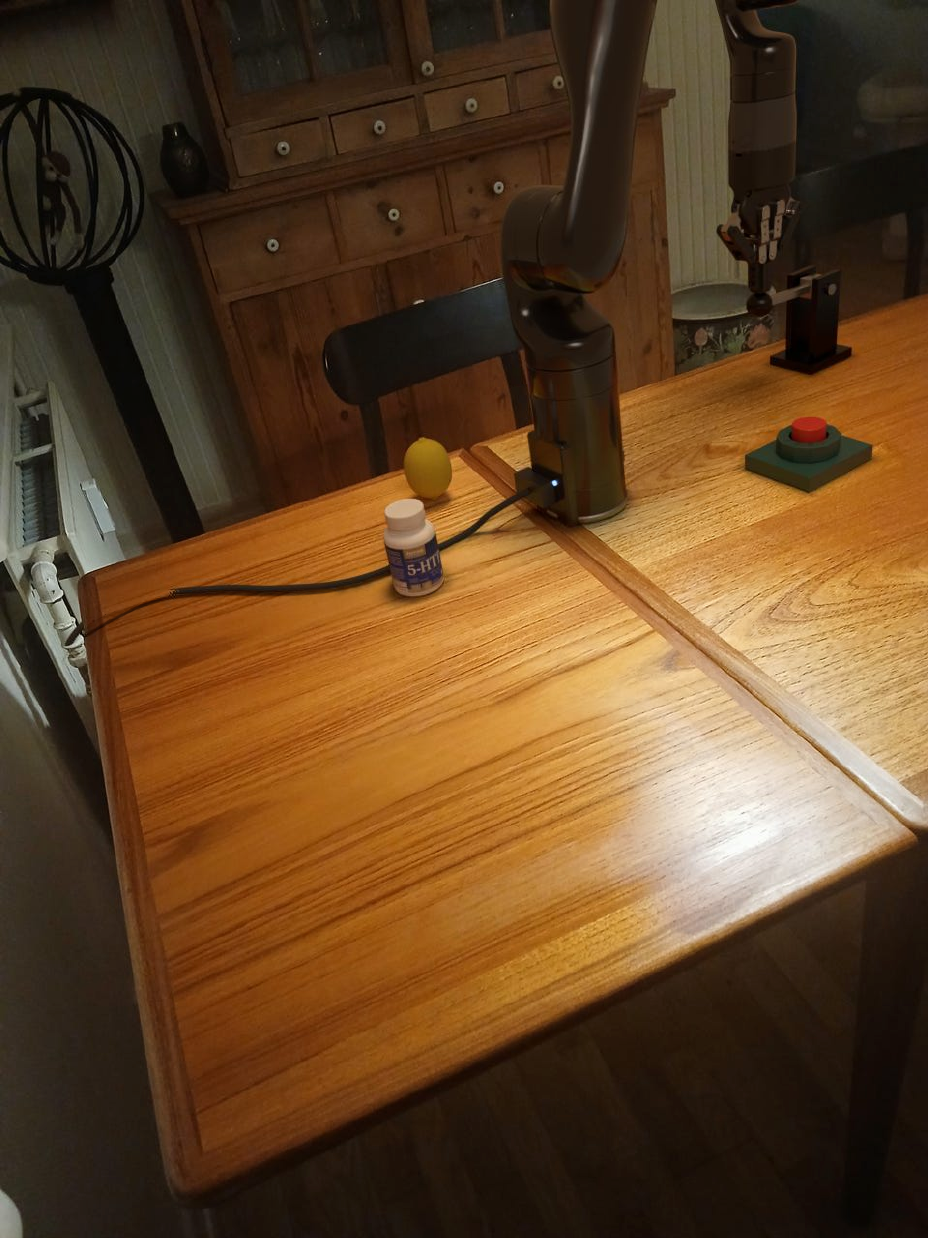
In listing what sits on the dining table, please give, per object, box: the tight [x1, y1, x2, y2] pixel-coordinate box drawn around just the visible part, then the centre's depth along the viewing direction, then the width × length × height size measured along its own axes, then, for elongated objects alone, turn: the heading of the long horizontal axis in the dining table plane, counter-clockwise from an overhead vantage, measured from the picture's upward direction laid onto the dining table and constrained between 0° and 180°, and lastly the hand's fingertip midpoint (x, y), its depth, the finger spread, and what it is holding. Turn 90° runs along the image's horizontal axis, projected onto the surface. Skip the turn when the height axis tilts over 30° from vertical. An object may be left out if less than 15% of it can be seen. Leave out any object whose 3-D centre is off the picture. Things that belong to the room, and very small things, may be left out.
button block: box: [744, 423, 874, 493], centre depth 105 cm, size 10×9×4 cm
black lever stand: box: [769, 265, 853, 375], centre depth 126 cm, size 8×7×12 cm
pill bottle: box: [382, 498, 445, 597], centre depth 96 cm, size 5×5×9 cm
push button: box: [791, 416, 828, 443], centre depth 104 cm, size 4×4×2 cm
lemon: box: [403, 437, 453, 501], centre depth 111 cm, size 6×6×8 cm
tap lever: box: [745, 273, 822, 319], centre depth 122 cm, size 13×3×3 cm, turn 123°
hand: (760, 291), depth 119 cm, fingers closed
